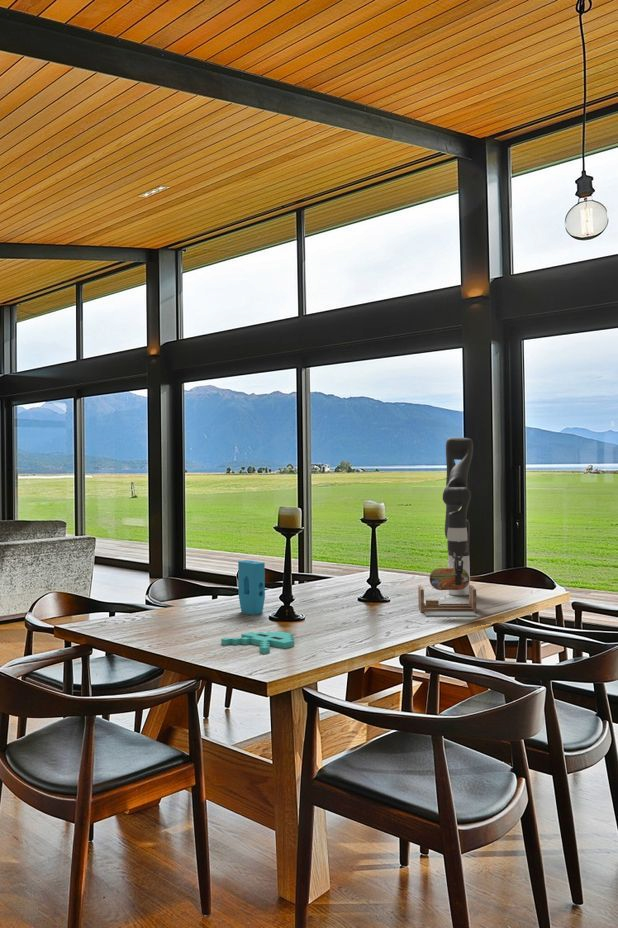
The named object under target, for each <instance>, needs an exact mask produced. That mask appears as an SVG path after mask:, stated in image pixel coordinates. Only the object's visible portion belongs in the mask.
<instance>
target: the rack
mask: <svg viewBox="0 0 618 928" xmlns="http://www.w3.org/2000/svg"><path fill="white" fill-rule="evenodd" d="M417 588H418V592H417V593H418V595H417V596H418V602H417V603H418V610H419V611H420V613H422V614H423V613H424V612H474V613H475V614H476V613H477V589H476V588H475V587H474V585H472V584H470V585H469V595H468V603H463V602H462V603H461V602H460V603H456V602H455V603H450V602H449V603H446V602H445V603H443V602H442V603H439V604H440V605H425V604H426V603H425V589H424V587H423V586H422V585H421V584H420V585H419V584H418V587H417Z"/></svg>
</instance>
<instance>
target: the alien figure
mask: <svg viewBox="0 0 618 928" xmlns="http://www.w3.org/2000/svg"><path fill="white" fill-rule="evenodd" d="M240 636H241V637H233V638H230V637H223V638H221V641H220V643H221V645H223V646H228V645H229V646H230V645H233V646H234V645H235V646H237V645H244V646H245V645H250V644H251V645H255V646H259V653H260V654H264V655H265V654H270V653H271V647H277V648H279V649H288V648H292V647H295V637H294V634H293V633H289V632H284V631H276V632H275V631H265V632H263V631H258V632H254V631H250V632H249V631H248V632H246V633H241V635H240Z"/></svg>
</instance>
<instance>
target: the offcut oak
mask: <svg viewBox="0 0 618 928" xmlns="http://www.w3.org/2000/svg"><path fill="white" fill-rule="evenodd" d="M425 604H426V605H439V604H440V601H439V599H425Z"/></svg>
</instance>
